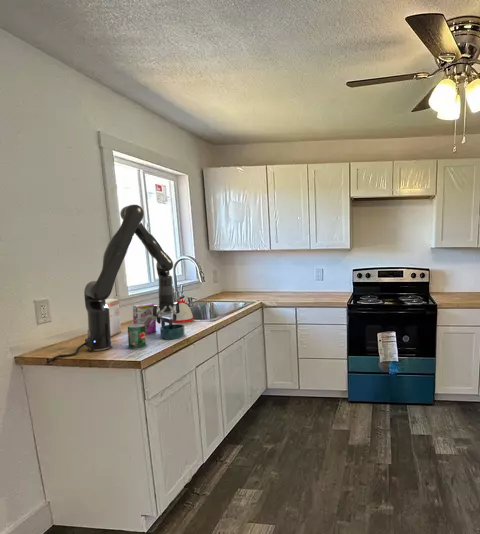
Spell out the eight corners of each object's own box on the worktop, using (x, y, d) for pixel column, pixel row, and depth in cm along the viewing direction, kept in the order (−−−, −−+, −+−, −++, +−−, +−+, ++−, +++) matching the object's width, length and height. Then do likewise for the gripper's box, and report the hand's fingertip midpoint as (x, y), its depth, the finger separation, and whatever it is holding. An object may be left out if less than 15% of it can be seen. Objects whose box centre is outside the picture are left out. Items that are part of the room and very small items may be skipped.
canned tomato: (147, 347, 171) (146, 325, 170) (129, 350, 167) (128, 327, 166) (144, 343, 178) (143, 322, 177) (127, 346, 174) (126, 324, 173)
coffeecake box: (109, 331, 201) (108, 298, 200) (121, 332, 201) (119, 298, 199) (92, 339, 187) (90, 303, 185) (104, 339, 186) (102, 303, 184)
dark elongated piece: (179, 335, 191) (178, 318, 190) (170, 336, 187) (169, 320, 187) (167, 331, 202) (166, 316, 202) (158, 332, 199) (158, 317, 199)
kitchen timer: (170, 319, 233) (169, 297, 232) (192, 317, 238) (191, 295, 237) (171, 323, 220) (170, 300, 219) (193, 321, 225) (192, 298, 224)
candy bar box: (137, 336, 192) (136, 306, 191) (133, 334, 195) (132, 305, 194) (156, 331, 201) (155, 303, 199) (152, 330, 204) (151, 302, 203)
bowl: (166, 341, 182) (165, 330, 181) (157, 336, 191) (156, 326, 191) (188, 336, 190) (188, 326, 190) (178, 332, 199) (178, 322, 199)
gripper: (175, 291, 202) (176, 319, 203) (150, 294, 192) (151, 323, 193) (181, 293, 196) (181, 321, 198) (155, 295, 187) (156, 325, 188)
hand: (166, 322), depth 196 cm, fingers open, 8 cm apart
